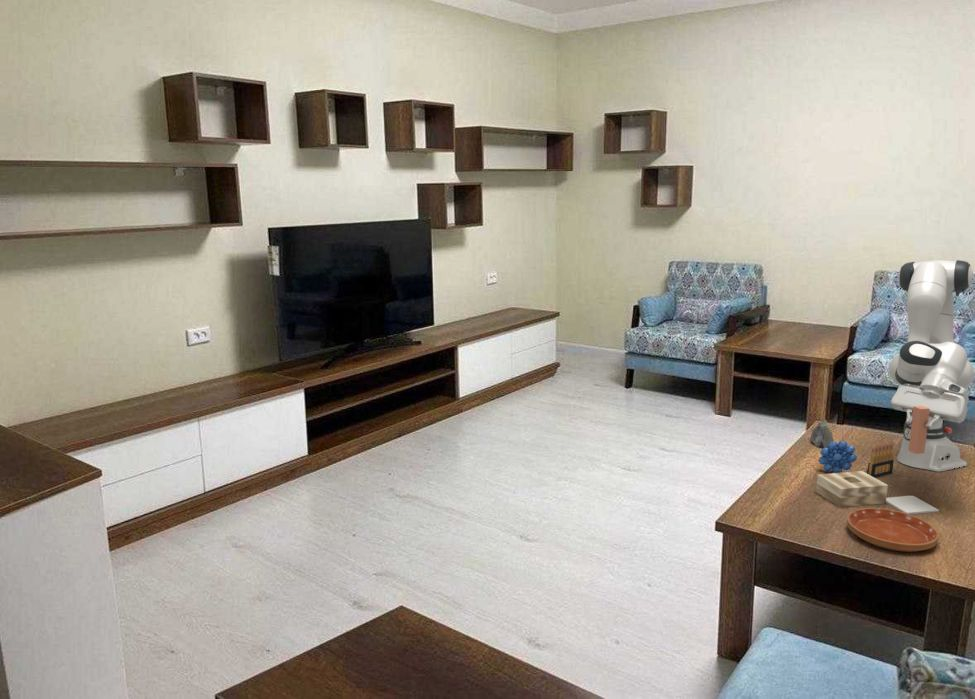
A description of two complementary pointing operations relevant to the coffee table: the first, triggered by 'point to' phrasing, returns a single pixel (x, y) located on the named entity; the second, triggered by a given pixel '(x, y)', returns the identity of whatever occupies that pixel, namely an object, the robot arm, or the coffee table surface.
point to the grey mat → (910, 505)
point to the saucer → (892, 529)
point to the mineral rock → (822, 435)
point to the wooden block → (918, 429)
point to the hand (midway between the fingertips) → (918, 425)
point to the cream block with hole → (851, 489)
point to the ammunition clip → (881, 460)
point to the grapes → (837, 456)
